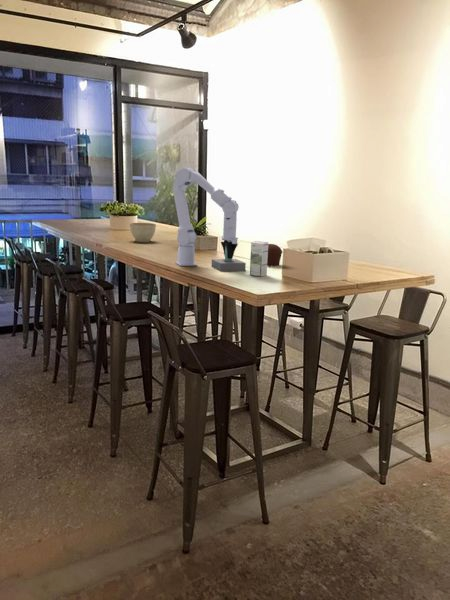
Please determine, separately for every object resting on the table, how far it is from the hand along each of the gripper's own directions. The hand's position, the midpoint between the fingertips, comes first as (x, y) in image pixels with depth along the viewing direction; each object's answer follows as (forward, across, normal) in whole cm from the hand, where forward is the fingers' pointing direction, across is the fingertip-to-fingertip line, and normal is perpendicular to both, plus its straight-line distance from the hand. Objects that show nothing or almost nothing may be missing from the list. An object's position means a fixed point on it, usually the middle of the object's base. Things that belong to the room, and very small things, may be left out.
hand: (228, 257), depth 237 cm
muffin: (+5, +8, -25) cm, 27 cm away
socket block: (+5, 0, 0) cm, 5 cm away
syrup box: (+5, -18, -7) cm, 20 cm away
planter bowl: (+5, +103, +18) cm, 105 cm away
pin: (+2, 0, 0) cm, 2 cm away
